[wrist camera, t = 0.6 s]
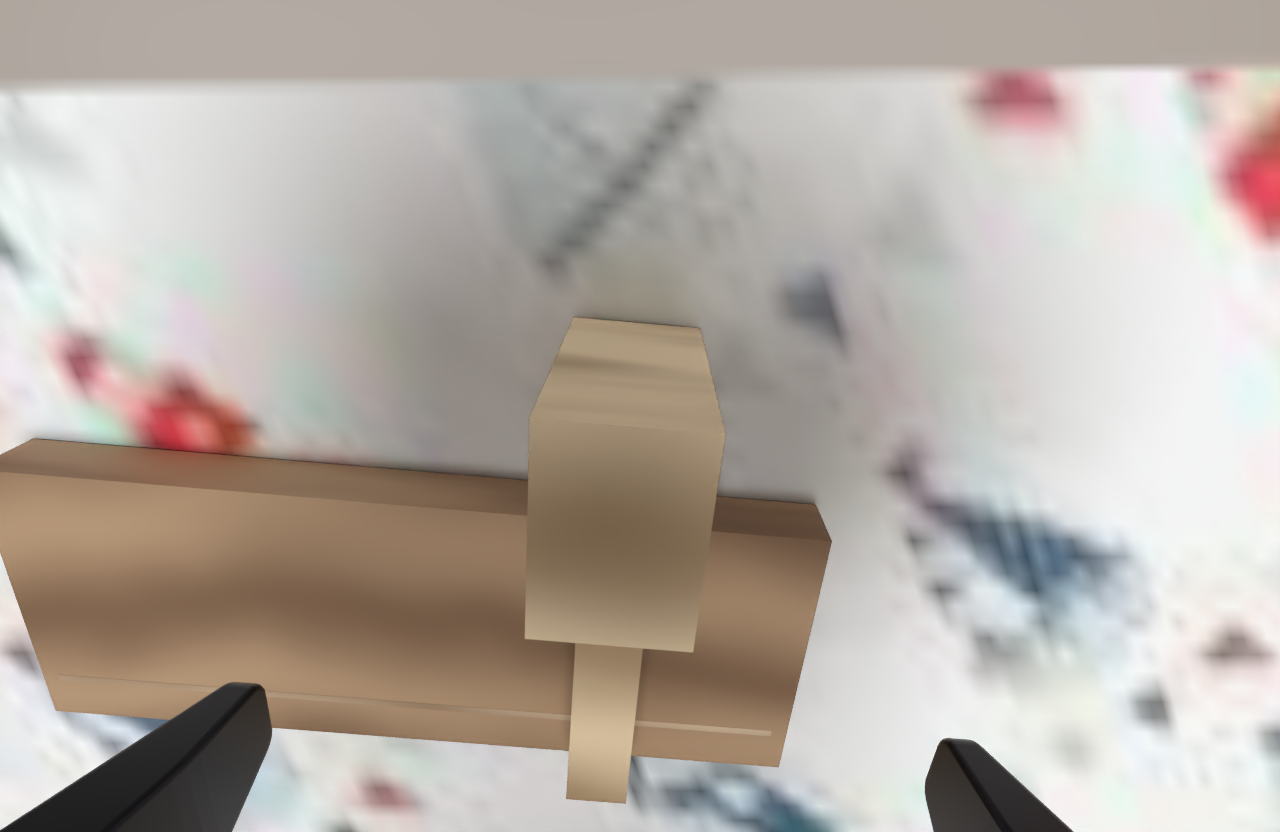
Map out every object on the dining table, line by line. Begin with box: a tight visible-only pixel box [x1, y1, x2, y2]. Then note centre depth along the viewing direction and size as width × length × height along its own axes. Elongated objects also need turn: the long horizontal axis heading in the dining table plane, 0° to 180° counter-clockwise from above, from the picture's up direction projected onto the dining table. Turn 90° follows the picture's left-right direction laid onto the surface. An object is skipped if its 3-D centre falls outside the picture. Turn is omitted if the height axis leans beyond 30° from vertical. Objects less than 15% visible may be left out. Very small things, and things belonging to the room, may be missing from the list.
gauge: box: [525, 317, 726, 804], centre depth 18 cm, size 14×4×7 cm, turn 175°
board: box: [0, 439, 832, 767], centre depth 21 cm, size 9×24×2 cm, turn 85°
